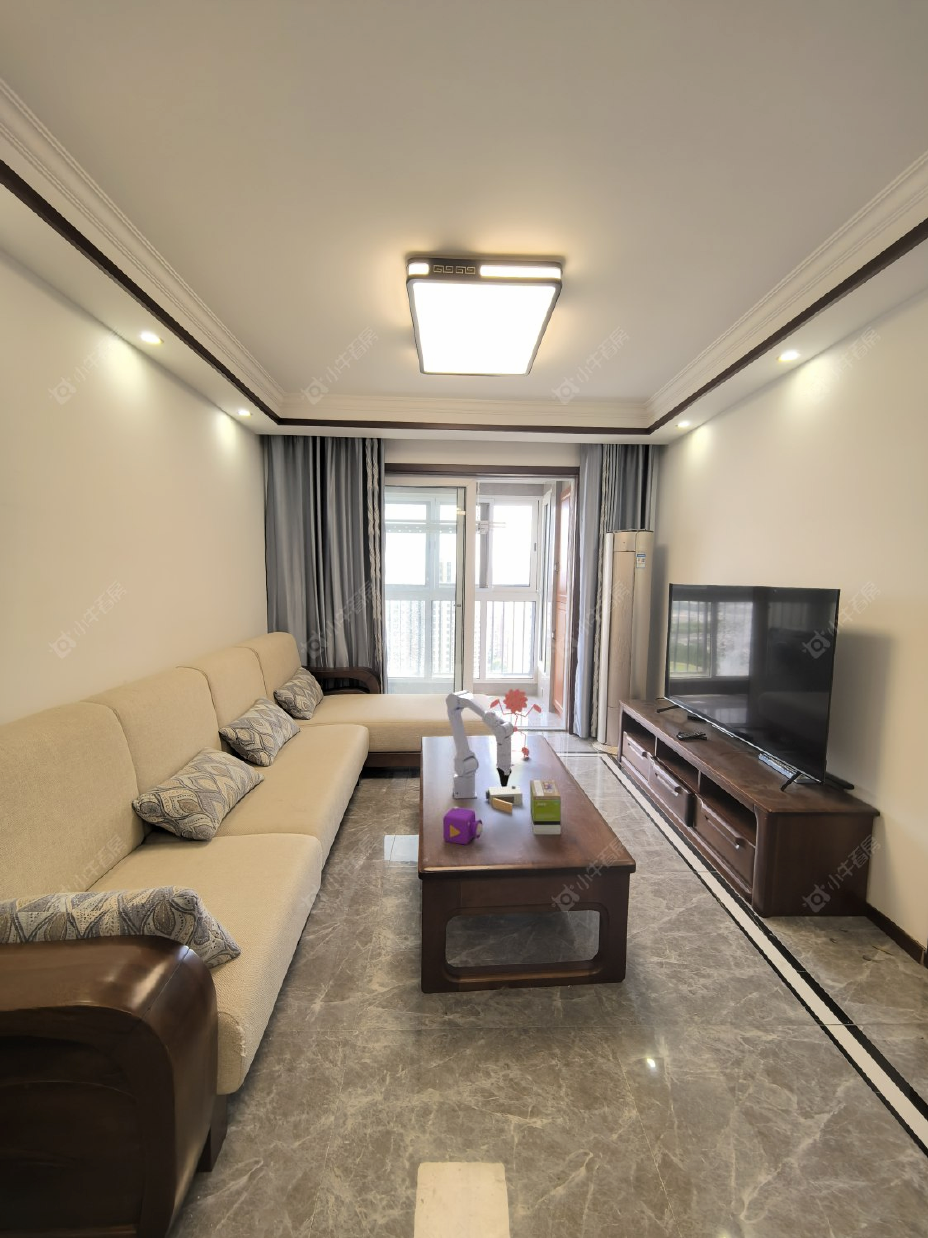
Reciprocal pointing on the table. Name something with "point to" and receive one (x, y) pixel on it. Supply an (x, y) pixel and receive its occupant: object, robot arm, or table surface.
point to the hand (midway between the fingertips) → (503, 786)
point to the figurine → (516, 708)
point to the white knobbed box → (505, 794)
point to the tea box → (545, 807)
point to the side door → (501, 805)
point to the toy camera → (461, 826)
